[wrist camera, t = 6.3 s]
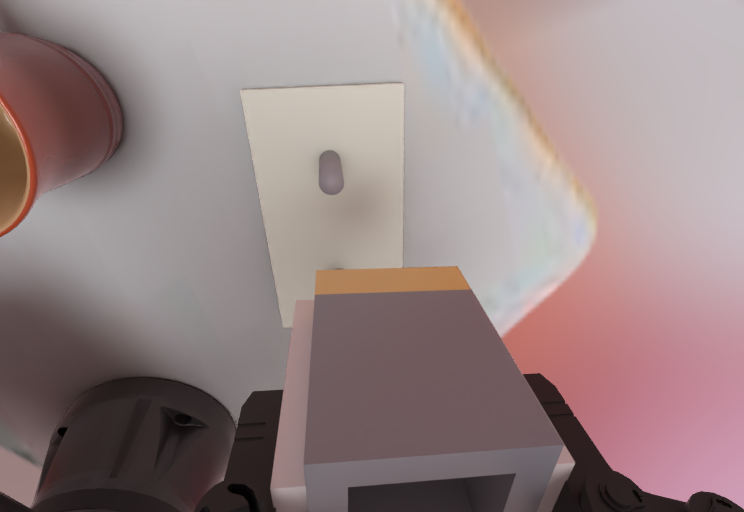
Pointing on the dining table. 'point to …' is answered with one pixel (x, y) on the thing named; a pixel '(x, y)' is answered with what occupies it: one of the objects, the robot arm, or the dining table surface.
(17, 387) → the dining table surface
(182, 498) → the robot arm
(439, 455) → the sleeve
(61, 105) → the mug
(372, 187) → the pin board
